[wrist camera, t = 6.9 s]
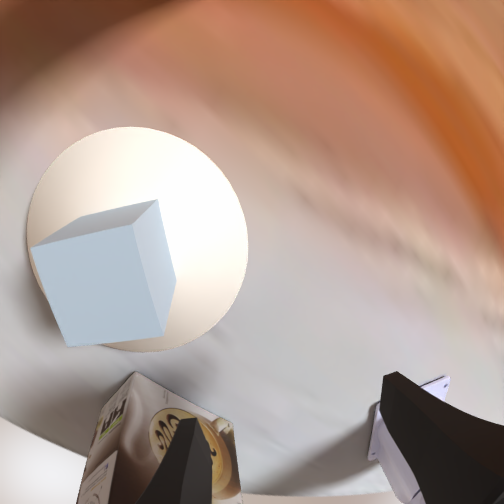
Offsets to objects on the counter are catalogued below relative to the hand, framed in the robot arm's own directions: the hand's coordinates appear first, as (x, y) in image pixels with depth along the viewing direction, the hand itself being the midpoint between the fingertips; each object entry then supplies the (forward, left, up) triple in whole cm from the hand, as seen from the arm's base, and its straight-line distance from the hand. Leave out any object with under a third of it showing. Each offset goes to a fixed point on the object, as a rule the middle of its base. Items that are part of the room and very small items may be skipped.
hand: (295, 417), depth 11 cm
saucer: (+5, +7, -9) cm, 13 cm away
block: (+5, +7, -8) cm, 12 cm away
